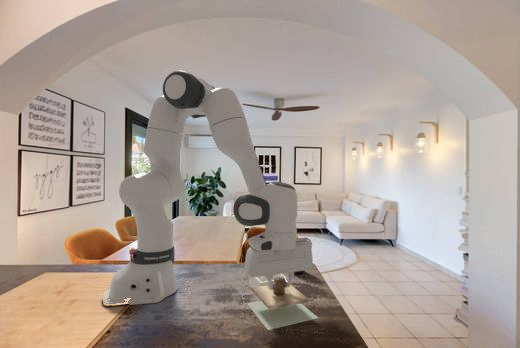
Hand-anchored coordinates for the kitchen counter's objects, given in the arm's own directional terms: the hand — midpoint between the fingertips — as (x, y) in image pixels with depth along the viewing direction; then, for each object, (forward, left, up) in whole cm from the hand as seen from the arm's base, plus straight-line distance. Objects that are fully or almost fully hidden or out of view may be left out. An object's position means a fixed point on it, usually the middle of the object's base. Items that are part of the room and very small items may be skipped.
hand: (279, 287), depth 80 cm
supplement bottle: (+20, +25, -7) cm, 33 cm away
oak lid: (0, 0, -2) cm, 2 cm away
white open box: (+3, +15, -7) cm, 17 cm away
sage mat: (0, 0, -7) cm, 7 cm away
